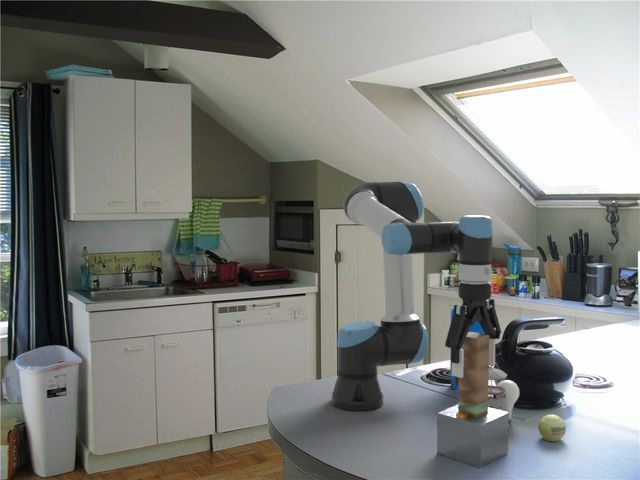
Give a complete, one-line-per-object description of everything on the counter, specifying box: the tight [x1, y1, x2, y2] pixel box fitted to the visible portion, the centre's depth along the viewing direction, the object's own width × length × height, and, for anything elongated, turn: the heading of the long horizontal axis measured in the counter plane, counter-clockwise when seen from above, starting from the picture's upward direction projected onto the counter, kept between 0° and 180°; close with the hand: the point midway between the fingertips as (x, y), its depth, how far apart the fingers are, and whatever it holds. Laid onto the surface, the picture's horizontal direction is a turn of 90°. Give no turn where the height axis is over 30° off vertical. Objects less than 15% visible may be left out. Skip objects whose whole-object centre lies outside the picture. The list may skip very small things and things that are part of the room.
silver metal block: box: [436, 404, 510, 468], centre depth 167 cm, size 12×12×11 cm
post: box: [457, 332, 490, 418], centre depth 166 cm, size 5×5×22 cm
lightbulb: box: [495, 379, 520, 421], centre depth 190 cm, size 6×6×11 cm
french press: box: [488, 366, 510, 429], centre depth 186 cm, size 10×12×25 cm
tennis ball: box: [537, 414, 567, 442], centre depth 176 cm, size 6×7×7 cm
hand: (473, 370), depth 166 cm, fingers open, 13 cm apart
